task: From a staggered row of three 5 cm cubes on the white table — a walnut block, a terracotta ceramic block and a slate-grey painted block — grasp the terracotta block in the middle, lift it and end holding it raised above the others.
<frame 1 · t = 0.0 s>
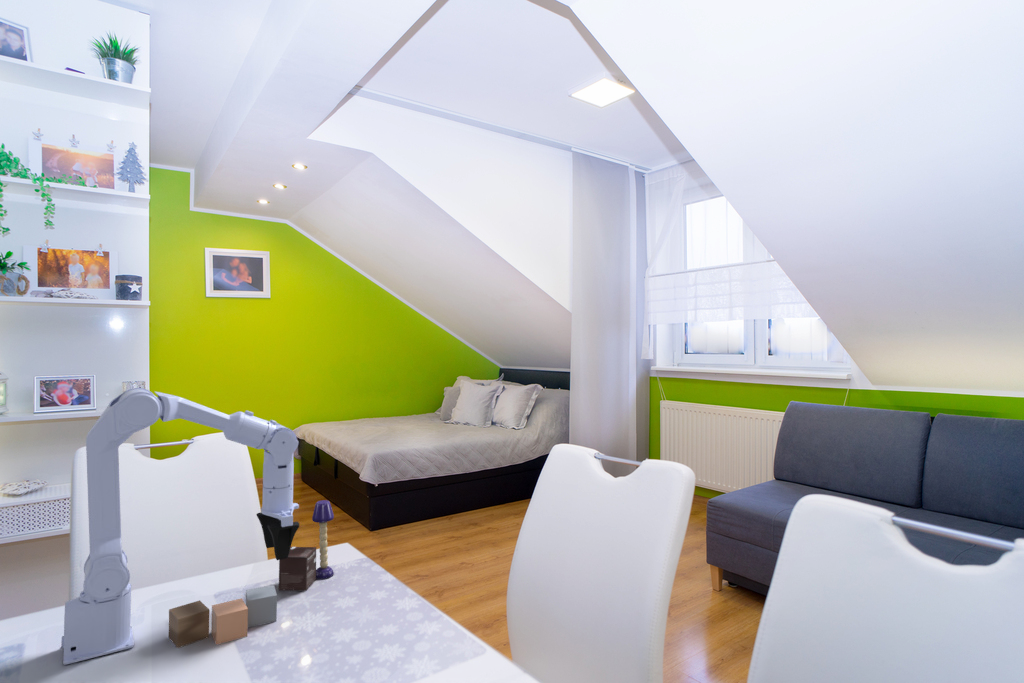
hand: (276, 552, 114), 10 cm above the table, fingers open, 7 cm apart
walnut block: (188, 637, 100), on the table
box: (297, 586, 122), on the table
terracotta block: (229, 634, 101), on the table
slate block: (260, 618, 107), on the table
toy lamp: (322, 576, 127), on the table
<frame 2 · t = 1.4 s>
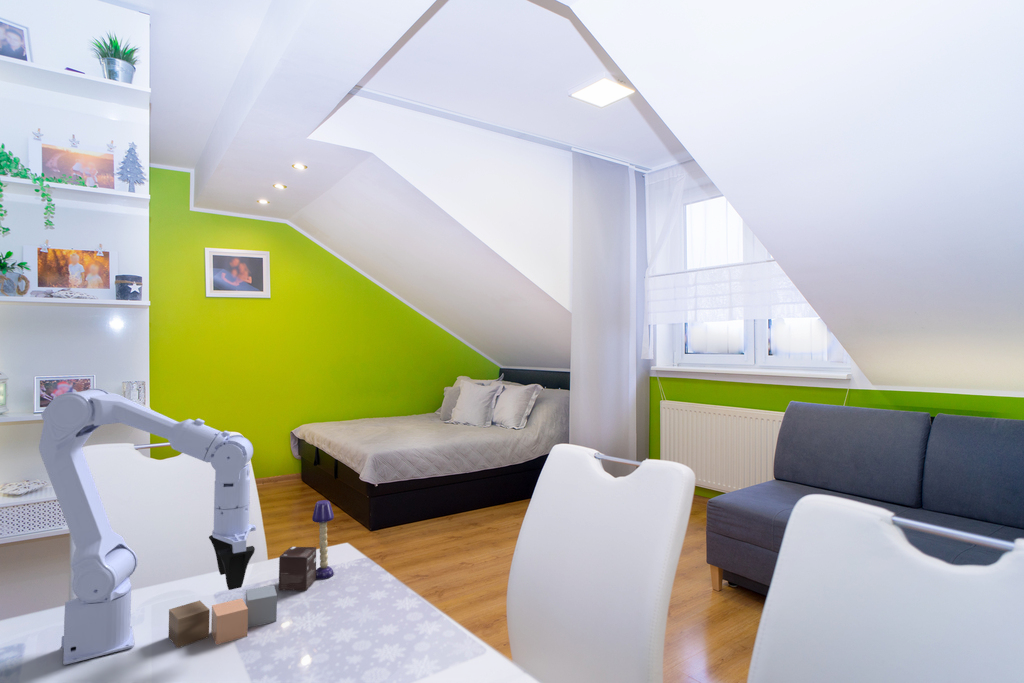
hand: (230, 580, 101), 10 cm above the table, fingers open, 7 cm apart
nothing on the table moved.
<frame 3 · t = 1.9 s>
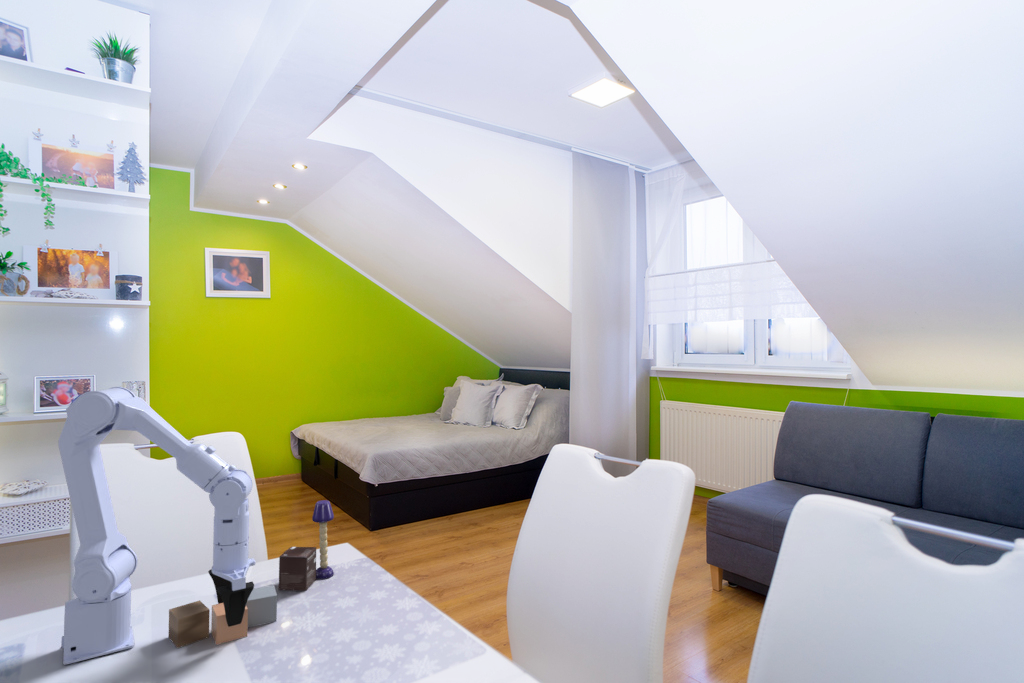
hand: (230, 615, 101), 3 cm above the table, fingers open, 7 cm apart
nothing on the table moved.
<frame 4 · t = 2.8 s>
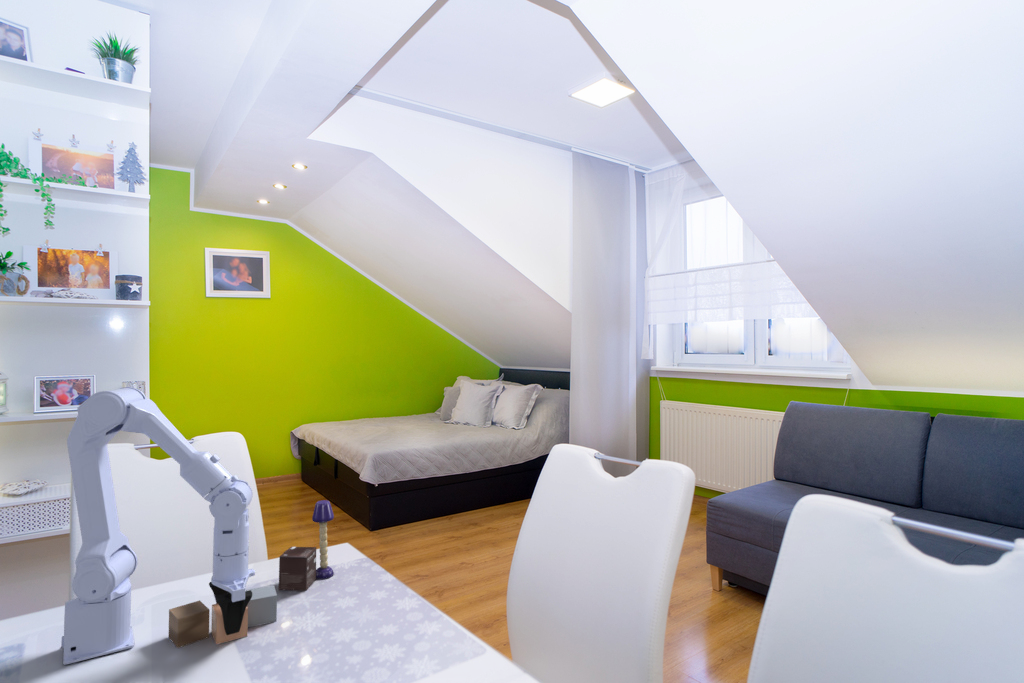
hand: (229, 626, 101), 1 cm above the table, fingers closed on terracotta block, 5 cm apart
terracotta block: (229, 634, 101), on the table, touching gripper
everything else where it was.
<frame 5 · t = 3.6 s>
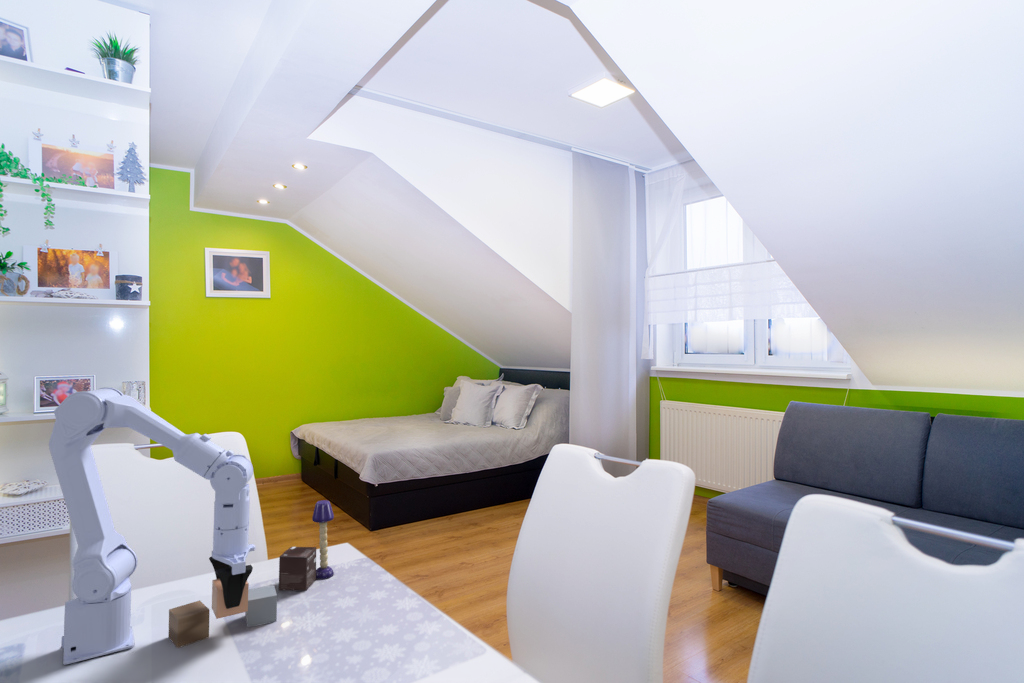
hand: (229, 600, 101), 6 cm above the table, fingers closed on terracotta block, 5 cm apart
terracotta block: (229, 609, 101), point 4 cm above the table, touching gripper
everything else where it was.
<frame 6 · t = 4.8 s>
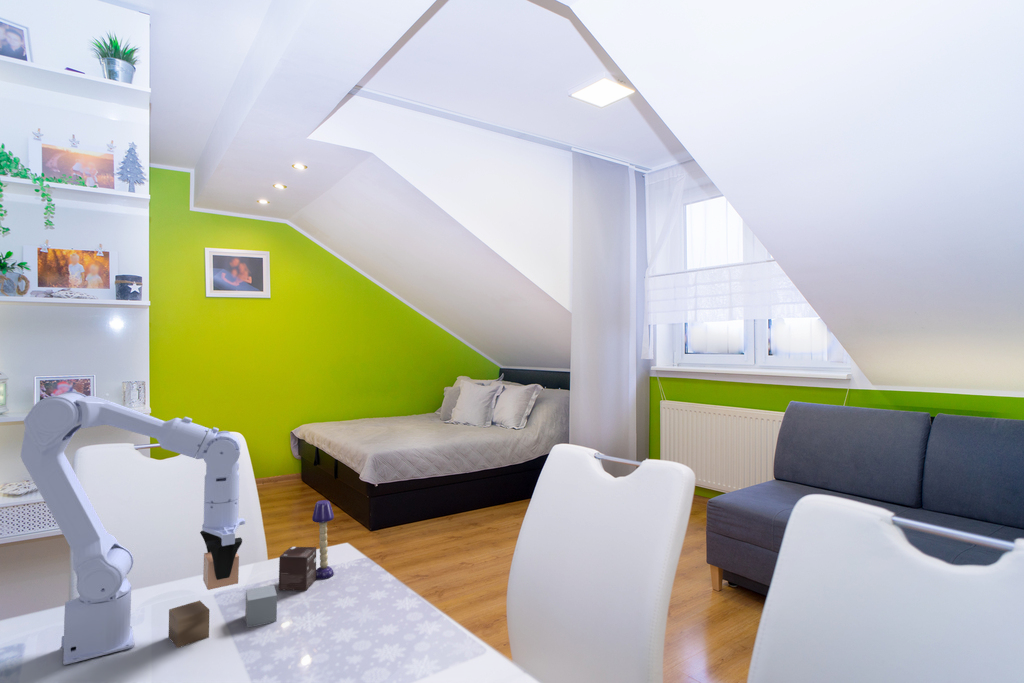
hand: (220, 572, 104), 10 cm above the table, fingers closed on terracotta block, 5 cm apart
terracotta block: (220, 581, 104), point 8 cm above the table, touching gripper
everything else where it was.
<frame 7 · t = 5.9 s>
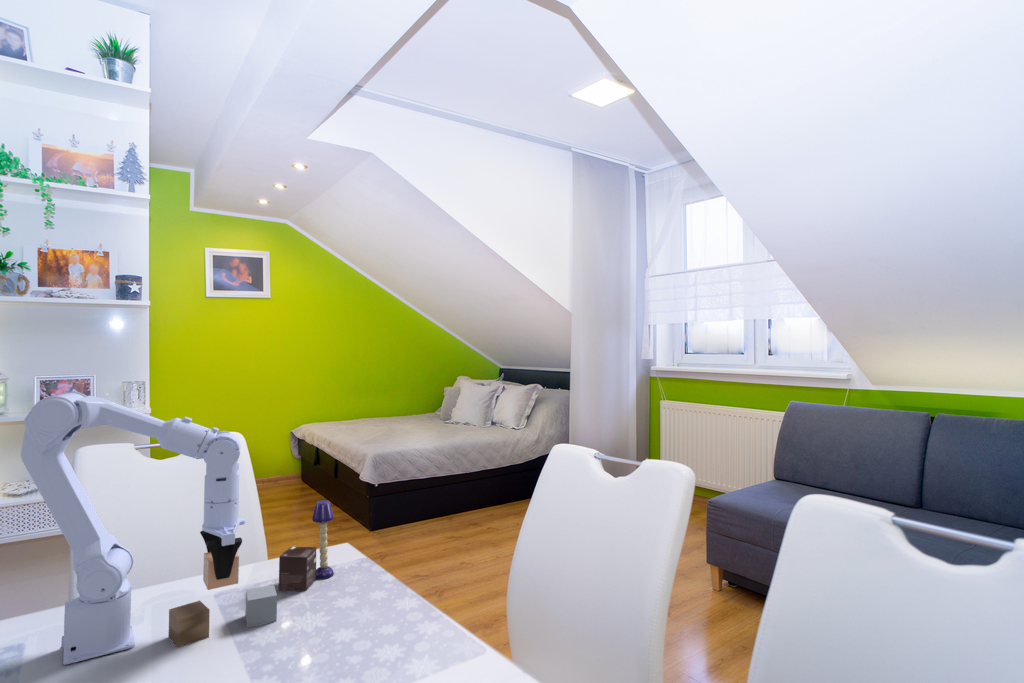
hand: (220, 572, 104), 10 cm above the table, fingers closed on terracotta block, 5 cm apart
terracotta block: (220, 581, 104), point 8 cm above the table, touching gripper
everything else where it was.
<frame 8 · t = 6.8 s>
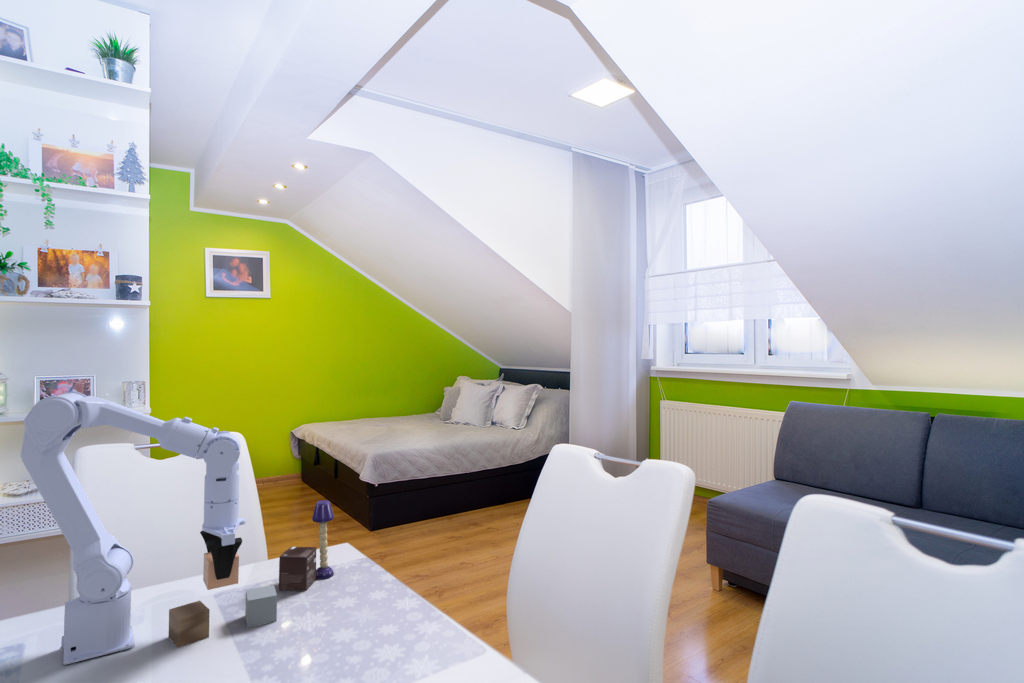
hand: (220, 572, 104), 10 cm above the table, fingers closed on terracotta block, 5 cm apart
terracotta block: (220, 581, 104), point 8 cm above the table, touching gripper
everything else where it was.
at the end: the gripper is holding terracotta block; terracotta block point 8.2 cm above the table; walnut block moved 0.1 cm from its start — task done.
